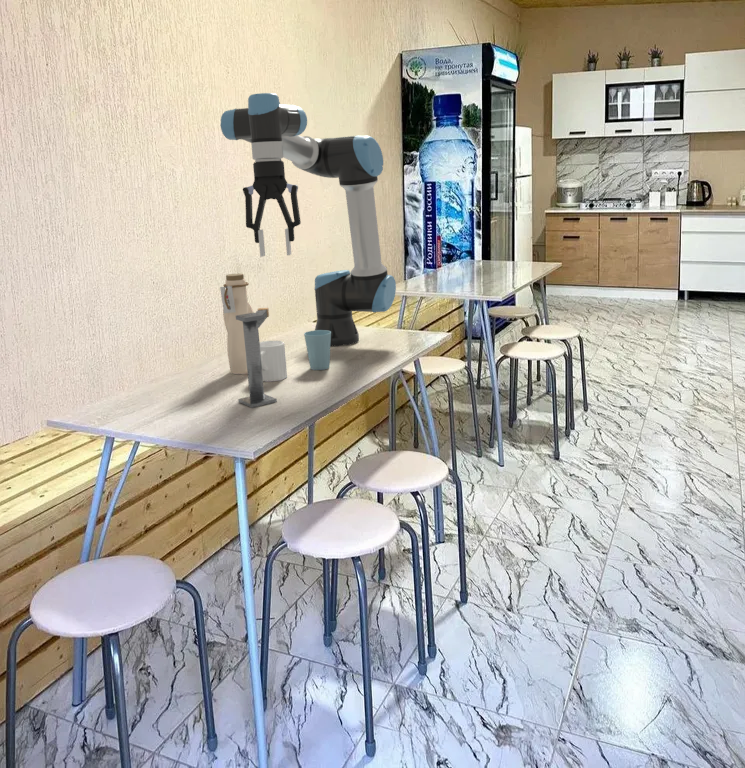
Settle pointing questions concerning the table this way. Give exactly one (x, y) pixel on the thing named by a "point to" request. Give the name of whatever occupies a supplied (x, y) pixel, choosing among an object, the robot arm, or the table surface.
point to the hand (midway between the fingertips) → (275, 255)
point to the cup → (318, 348)
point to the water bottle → (232, 306)
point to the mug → (273, 360)
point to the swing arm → (264, 312)
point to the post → (253, 361)
